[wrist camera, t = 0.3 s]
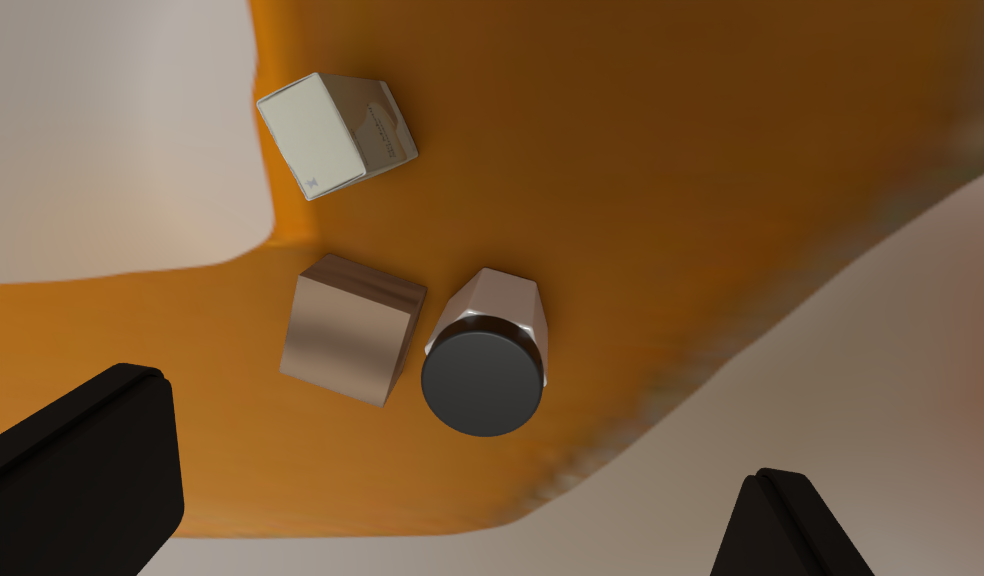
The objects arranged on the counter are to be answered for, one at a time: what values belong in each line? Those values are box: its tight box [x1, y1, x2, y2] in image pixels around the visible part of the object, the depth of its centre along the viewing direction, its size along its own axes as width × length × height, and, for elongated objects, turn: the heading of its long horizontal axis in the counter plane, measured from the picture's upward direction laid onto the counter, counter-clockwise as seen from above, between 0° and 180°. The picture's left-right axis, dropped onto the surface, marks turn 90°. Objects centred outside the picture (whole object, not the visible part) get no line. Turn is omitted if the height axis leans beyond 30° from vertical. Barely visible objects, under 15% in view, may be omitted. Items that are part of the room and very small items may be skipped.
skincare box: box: [257, 72, 418, 201], centre depth 35 cm, size 6×4×12 cm
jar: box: [421, 268, 548, 437], centre depth 40 cm, size 9×8×12 cm
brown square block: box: [279, 254, 427, 408], centre depth 44 cm, size 9×9×6 cm
